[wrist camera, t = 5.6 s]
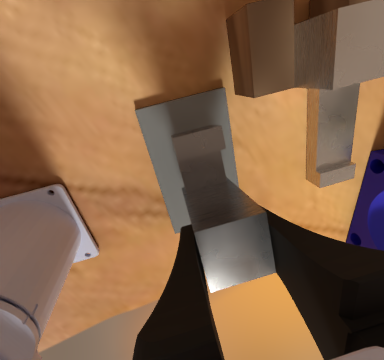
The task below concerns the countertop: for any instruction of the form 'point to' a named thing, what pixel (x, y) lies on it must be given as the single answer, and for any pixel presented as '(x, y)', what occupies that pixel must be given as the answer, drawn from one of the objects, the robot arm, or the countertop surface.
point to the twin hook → (336, 82)
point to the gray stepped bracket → (221, 212)
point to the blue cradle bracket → (370, 206)
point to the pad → (164, 150)
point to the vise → (268, 44)
